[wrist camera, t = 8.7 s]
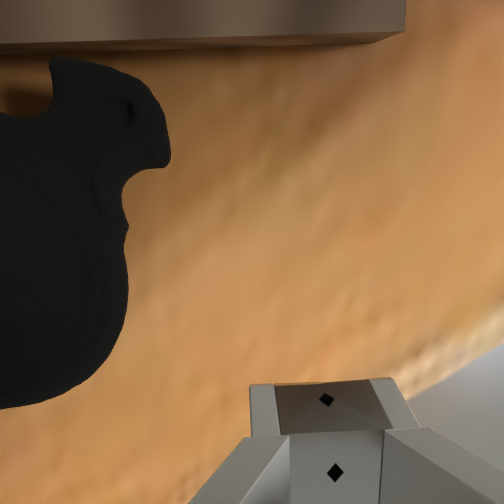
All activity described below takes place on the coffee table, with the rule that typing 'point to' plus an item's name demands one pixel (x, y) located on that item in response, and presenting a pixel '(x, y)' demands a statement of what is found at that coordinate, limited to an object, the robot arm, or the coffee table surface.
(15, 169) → the oil lamp
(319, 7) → the bracket
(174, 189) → the coffee table surface
